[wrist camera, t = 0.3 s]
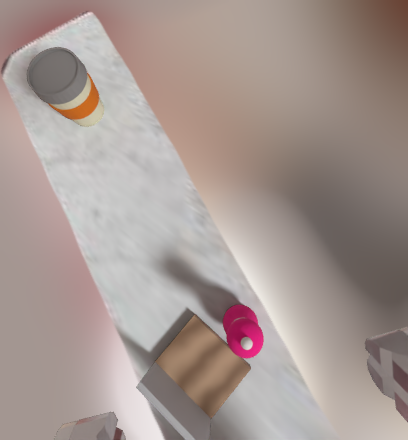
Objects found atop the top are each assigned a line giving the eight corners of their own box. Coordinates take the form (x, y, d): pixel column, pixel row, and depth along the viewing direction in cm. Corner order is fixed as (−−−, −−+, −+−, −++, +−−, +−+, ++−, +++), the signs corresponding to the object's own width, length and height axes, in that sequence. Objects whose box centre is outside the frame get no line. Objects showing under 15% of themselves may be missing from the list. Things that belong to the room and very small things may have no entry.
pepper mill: (216, 324, 58) (213, 352, 38) (233, 296, 59) (238, 309, 39) (244, 342, 57) (256, 382, 37) (261, 313, 58) (280, 337, 38)
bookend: (249, 365, 56) (257, 391, 44) (207, 418, 54) (203, 459, 43) (195, 313, 59) (188, 325, 47) (153, 362, 57) (135, 387, 46)
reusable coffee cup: (69, 137, 69) (27, 102, 55) (64, 97, 72) (23, 53, 57) (113, 126, 69) (84, 88, 54) (107, 87, 72) (77, 40, 57)
